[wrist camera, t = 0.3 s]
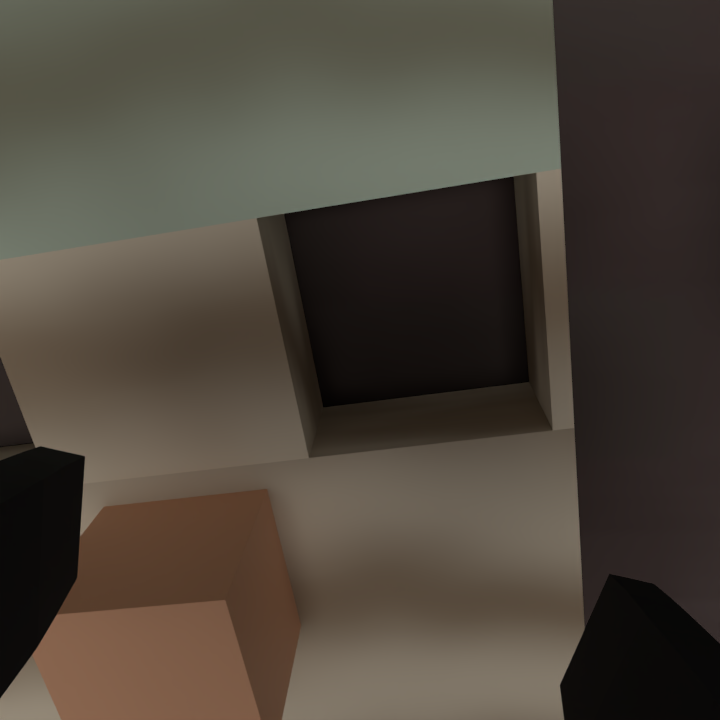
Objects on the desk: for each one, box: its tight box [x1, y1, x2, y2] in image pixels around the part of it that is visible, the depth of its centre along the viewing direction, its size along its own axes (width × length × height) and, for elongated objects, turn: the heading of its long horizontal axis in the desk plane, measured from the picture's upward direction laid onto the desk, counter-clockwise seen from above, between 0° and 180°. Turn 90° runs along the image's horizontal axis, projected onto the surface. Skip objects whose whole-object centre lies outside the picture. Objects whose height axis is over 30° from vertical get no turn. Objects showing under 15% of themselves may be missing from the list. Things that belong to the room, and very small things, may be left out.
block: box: [32, 489, 301, 720], centre depth 15 cm, size 4×4×4 cm
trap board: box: [0, 0, 585, 720], centre depth 16 cm, size 22×20×4 cm
